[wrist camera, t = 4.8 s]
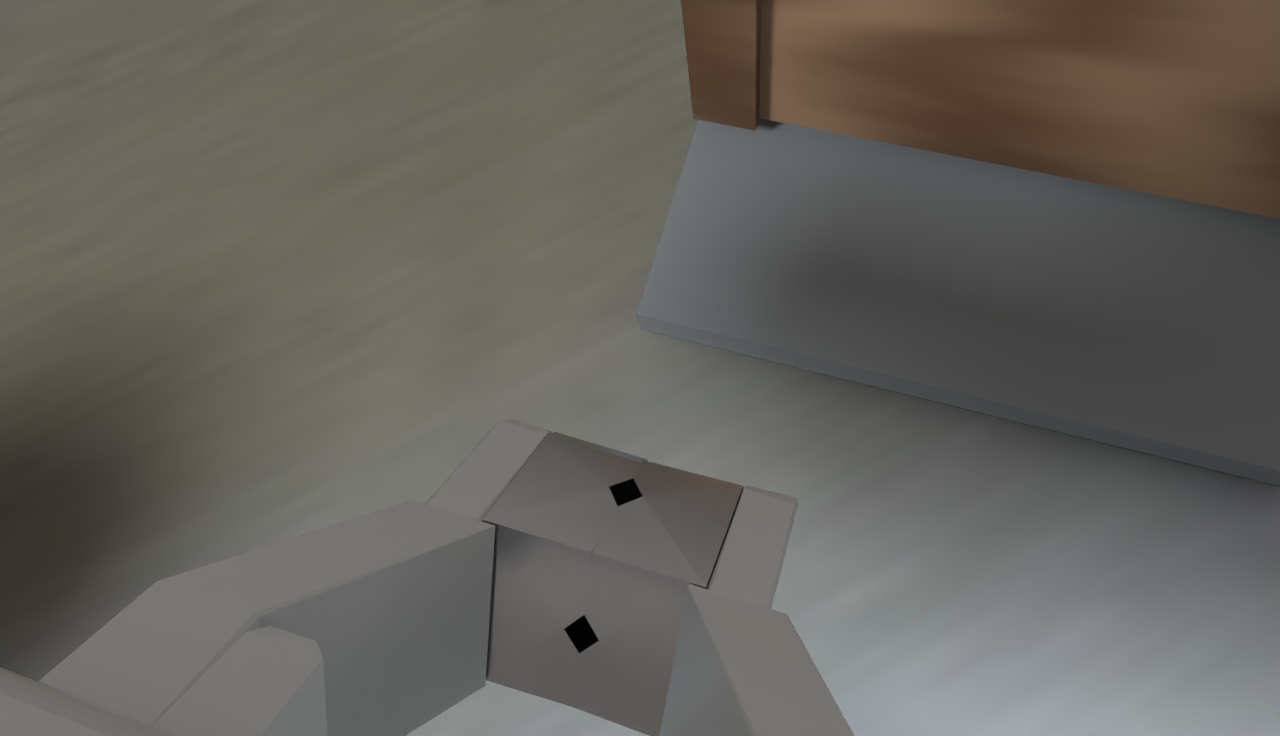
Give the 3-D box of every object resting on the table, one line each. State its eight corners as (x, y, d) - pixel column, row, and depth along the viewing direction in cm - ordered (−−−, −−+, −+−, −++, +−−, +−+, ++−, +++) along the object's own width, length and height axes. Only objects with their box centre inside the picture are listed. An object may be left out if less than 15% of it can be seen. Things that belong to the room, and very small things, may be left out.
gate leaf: (693, 118, 22) (658, -204, 14) (718, 41, 22) (699, -312, 14) (1399, 257, 19) (1886, -48, 11) (1406, 165, 19) (1875, -193, 11)
